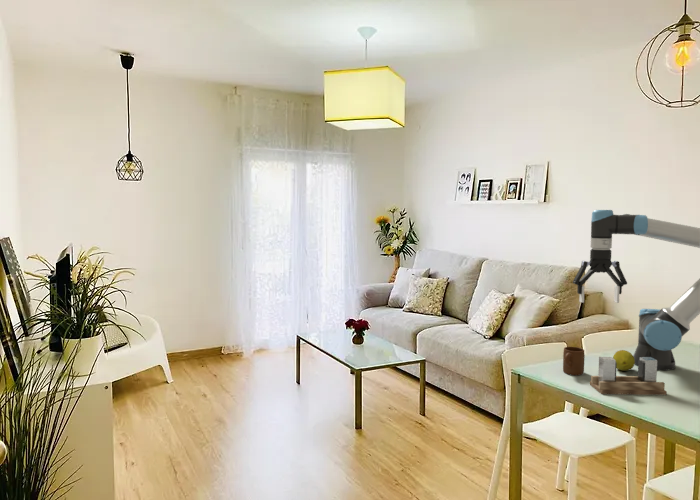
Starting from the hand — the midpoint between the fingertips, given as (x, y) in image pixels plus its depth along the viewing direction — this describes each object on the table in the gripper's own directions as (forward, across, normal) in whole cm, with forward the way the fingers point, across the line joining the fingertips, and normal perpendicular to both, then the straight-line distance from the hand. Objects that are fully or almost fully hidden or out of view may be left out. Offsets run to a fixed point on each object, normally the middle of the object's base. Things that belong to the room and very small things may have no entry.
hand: (599, 302), depth 209 cm
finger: (+25, +7, -25) cm, 36 cm away
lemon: (+27, +9, -3) cm, 29 cm away
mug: (+27, -13, -8) cm, 31 cm away
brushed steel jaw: (+26, -7, -25) cm, 36 cm away
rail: (+27, 0, -25) cm, 37 cm away
